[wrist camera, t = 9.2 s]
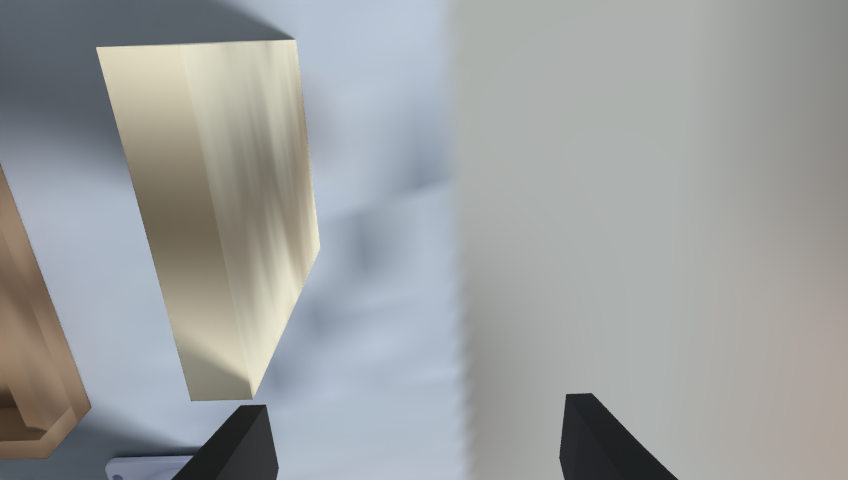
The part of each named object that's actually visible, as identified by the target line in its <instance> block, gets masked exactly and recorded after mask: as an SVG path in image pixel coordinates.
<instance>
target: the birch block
mask: <svg viewBox="0 0 848 480" xmlns="http://www.w3.org/2000/svg"><path fill="white" fill-rule="evenodd" d="M96 49H97V53H98V57H99V61H100V64H101V68H102V72H103V75H104V79H105V83H106V87H107V90H108V94H109V98H110V101H111V105H112V109H113V113H114V116H115V120H116V124H117V127H118V131H119V135H120V139H121V142H122V146H123V150H124V154H125V157H126V161H127V165H128V168H129V172H130V176H131V180H132V183H133V187H134V191H135V194H136V198H137V202H138V206H139V209H140V213H141V217H142V220H143V224H144V228H145V232H146V235H147V239H148V243H149V246H150V250H151V254H152V258H153V261H154V265H155V269H156V272H157V276H158V280H159V284H160V287H161V291H162V295H163V298H164V302H165V306H166V310H167V313H168V317H169V321H170V324H171V328H172V332H173V336H174V339H175V343H176V347H177V351H178V354H179V358H180V362H181V365H182V369H183V373H184V377H185V380H186V384H187V388H188V391H189V395H190V399H191V401H212V400H248V399H253V398H254V396H255V393H256V391H257V389H258V387H259V384H260V382H261V380H262V378H263V375H264V373H265V371H266V369H267V367H268V364H269V362H270V360H271V358H272V355H273V353H274V351H275V349H276V346H277V344H278V342H279V340H280V337H281V335H282V333H283V331H284V328H285V326H286V324H287V322H288V319H289V317H290V315H291V313H292V310H293V308H294V306H295V304H296V301H297V299H298V297H299V295H300V292H301V290H302V288H303V286H304V284H305V281H306V279H307V277H308V275H309V272H310V270H311V268H312V266H313V263H314V261H315V259H316V257H317V254H318V252H319V250H320V242H319V234H318V225H317V216H316V208H315V199H314V191H313V182H312V173H311V165H310V156H309V148H308V139H307V130H306V122H305V113H304V105H303V96H302V87H301V79H300V70H299V62H298V53H297V45H296V40H259V41H232V42H208V43H185V44H161V45H137V46H113V47H96Z"/></svg>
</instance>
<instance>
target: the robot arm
mask: <svg viewBox="0 0 848 480" xmlns="http://www.w3.org/2000/svg"><path fill="white" fill-rule="evenodd" d="M559 458H560V462H561V467H562V471H563V475H564V479H565V480H678V479H677V478H676V477H675V476H674V475H673V474H671V473H670V472H669V471H668V470H667V469H666V468H665V467H664V466H663V465H662V464H661V463H660V462H659V461H658V460H657V459H656V458H655V457H654V456H653V455H652V454H651V453H649V451H647V450H646V449H645V448H644V447H643V446H642V445H641V444H640V443H639V442H638V441H637V440H636V439H635V438H634V437H633V436H632V435H631V434H630V433H629V431H628V430H626V428H625V427H624V426H623V425H622V424H621V423H620V422H619V421H618V420H617V419H616V418H615V417H614V416H613V415H612V414H611V413H610V412H609V411H608V410H607V408H605V407H604V406H603V404H602V403H601V402H600V401H599V400H598V399H597V398H596V397H595V396H594V395H593V394H592V393H586V394H567V395H566V401H565V411H564V419H563V428H562V437H561V447H560V457H559ZM278 469H279V467H278V462H277V457H276V452H275V447H274V442H273V437H272V432H271V427H270V422H269V417H268V412H267V407H266V405H242V406H240V407H239V408H238V409H237V410H236V411H235V412H234V413H233V414H232V415H231V416H230V417H229V418H228V419H227V420H226V421H225V423H224V424H223V425H222V426H221V427H220V428H219V429H218V430H217V431H216V432H215V433H214V435H213V436H212V437H211V438H210V439H209V440H208V441H207V442H206V443H205V444H204V445H203V446H202V448H201V449H200V450H199V451H198V452H197V453H196V454H195V455H194V456H163V457H129V458H113V459H111V460H110V461H109V462H108V463H107V465H106V467H105V471H106V474H107V476H108V479H109V480H276V478H277V473H278Z"/></svg>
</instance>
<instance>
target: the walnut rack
mask: <svg viewBox="0 0 848 480" xmlns="http://www.w3.org/2000/svg"><path fill="white" fill-rule="evenodd" d="M90 409H91V405H90V402H89V400H88V397H87V394H86V392H85V389H84V386H83V384H82V381H81V378H80V376H79V373H78V370H77V368H76V365H75V362H74V360H73V357H72V354H71V352H70V349H69V346H68V344H67V341H66V338H65V336H64V333H63V330H62V328H61V325H60V322H59V320H58V317H57V314H56V312H55V309H54V306H53V304H52V301H51V298H50V296H49V293H48V290H47V288H46V285H45V282H44V280H43V277H42V274H41V272H40V269H39V266H38V264H37V261H36V258H35V256H34V253H33V250H32V248H31V245H30V242H29V239H28V237H27V234H26V231H25V229H24V226H23V223H22V221H21V218H20V215H19V213H18V210H17V207H16V205H15V202H14V199H13V197H12V194H11V191H10V189H9V186H8V183H7V181H6V178H5V175H4V173H3V170H2V167H1V165H0V460H7V459H41V458H48V457H49V456H50V455H51V454H52V452H53V451H54V450H55V449H56V448H57V447H58V445H59V444H60V443H61V442H62V441H63V440H64V439H65V437H66V436H67V435H68V434H69V433H70V432H71V430H72V429H73V428H74V427H75V426H76V425H77V424H78V422H79V421H80V420H81V419H82V418H83V417H84V415H85V414H86V413H87V412H88V411H89V410H90Z"/></svg>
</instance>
